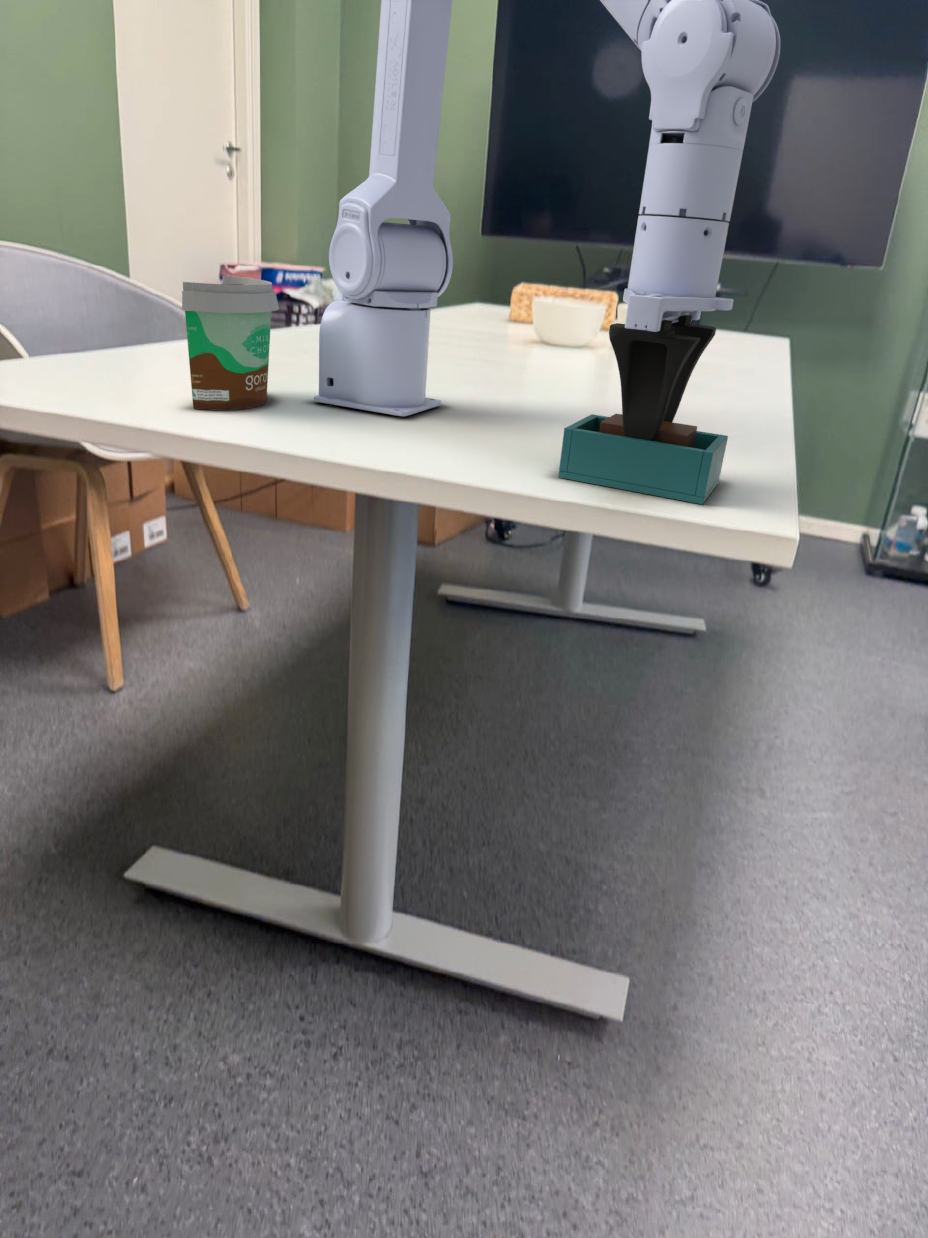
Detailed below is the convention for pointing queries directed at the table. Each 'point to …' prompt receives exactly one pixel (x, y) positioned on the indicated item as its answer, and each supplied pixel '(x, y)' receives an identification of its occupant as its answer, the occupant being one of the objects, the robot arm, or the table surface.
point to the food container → (229, 341)
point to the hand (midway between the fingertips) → (647, 432)
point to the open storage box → (642, 462)
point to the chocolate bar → (667, 433)
